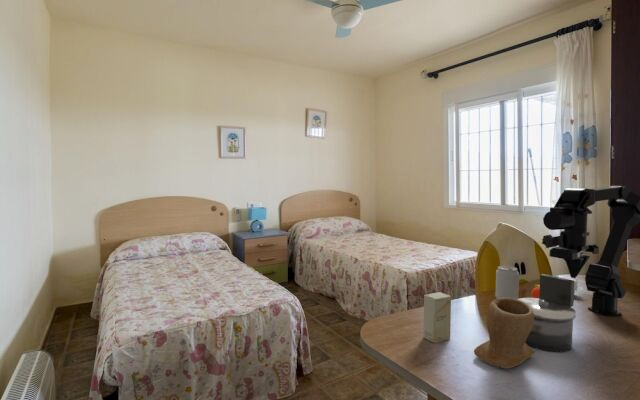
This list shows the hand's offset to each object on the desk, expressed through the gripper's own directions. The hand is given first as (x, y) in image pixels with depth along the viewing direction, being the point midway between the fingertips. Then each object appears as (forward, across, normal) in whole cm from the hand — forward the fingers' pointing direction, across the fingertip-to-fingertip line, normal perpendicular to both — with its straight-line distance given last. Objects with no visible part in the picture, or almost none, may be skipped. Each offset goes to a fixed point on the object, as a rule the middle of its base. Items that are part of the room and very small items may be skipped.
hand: (573, 277), depth 110 cm
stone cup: (+13, +42, +4) cm, 44 cm away
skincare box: (+13, +47, -13) cm, 51 cm away
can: (+13, +1, -21) cm, 24 cm away
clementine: (+13, -4, -11) cm, 18 cm away
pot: (+13, +24, 0) cm, 27 cm away
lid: (+5, +24, +3) cm, 25 cm away
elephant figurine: (+13, -25, -12) cm, 31 cm away
